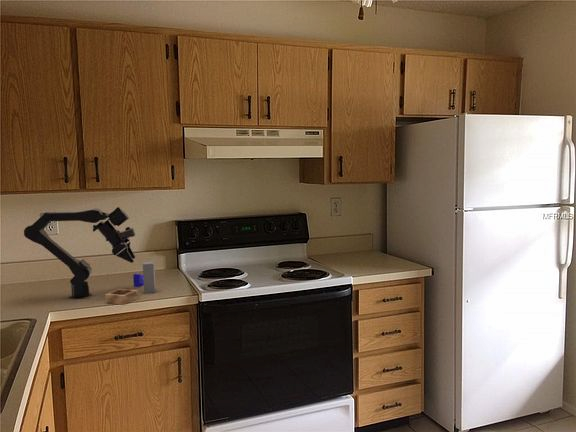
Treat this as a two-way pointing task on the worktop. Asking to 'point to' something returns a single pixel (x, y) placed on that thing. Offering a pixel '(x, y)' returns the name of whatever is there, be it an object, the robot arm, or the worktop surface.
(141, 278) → the cable clip
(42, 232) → the robot arm
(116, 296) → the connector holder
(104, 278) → the worktop surface
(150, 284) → the plain gray rectangular block
